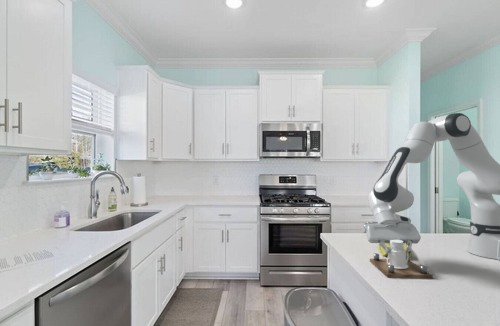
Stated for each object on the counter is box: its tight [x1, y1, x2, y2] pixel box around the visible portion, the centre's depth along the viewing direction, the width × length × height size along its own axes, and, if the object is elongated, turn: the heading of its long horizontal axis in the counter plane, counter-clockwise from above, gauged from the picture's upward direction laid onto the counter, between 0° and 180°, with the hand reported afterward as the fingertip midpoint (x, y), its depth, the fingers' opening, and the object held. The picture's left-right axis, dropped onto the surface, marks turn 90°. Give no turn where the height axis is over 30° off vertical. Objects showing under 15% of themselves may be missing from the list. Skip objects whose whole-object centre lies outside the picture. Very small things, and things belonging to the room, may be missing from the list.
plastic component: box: [377, 243, 413, 260], centre depth 122 cm, size 20×7×10 cm
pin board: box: [369, 252, 434, 279], centre depth 101 cm, size 16×16×4 cm
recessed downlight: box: [386, 240, 410, 269], centre depth 101 cm, size 8×7×10 cm
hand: (399, 252), depth 100 cm, fingers closed on recessed downlight, 7 cm apart
